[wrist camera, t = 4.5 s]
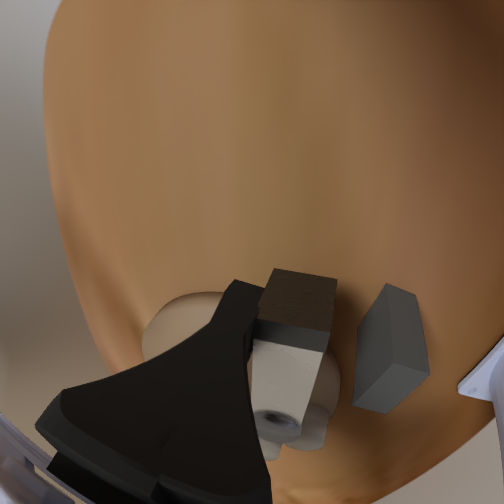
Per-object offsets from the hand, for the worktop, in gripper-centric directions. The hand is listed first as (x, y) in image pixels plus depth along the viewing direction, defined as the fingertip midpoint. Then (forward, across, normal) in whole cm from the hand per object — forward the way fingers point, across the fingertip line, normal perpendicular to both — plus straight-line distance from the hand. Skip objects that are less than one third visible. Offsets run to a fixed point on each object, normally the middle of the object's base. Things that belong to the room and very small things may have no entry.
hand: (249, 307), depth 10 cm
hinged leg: (+1, -2, +2) cm, 3 cm away
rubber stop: (+2, -5, 0) cm, 6 cm away
